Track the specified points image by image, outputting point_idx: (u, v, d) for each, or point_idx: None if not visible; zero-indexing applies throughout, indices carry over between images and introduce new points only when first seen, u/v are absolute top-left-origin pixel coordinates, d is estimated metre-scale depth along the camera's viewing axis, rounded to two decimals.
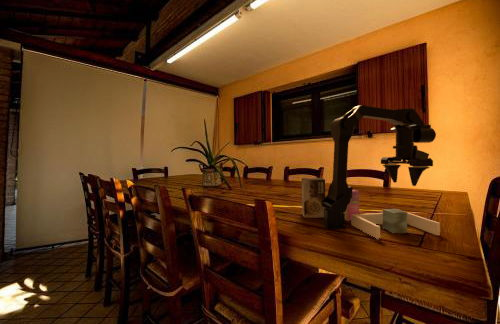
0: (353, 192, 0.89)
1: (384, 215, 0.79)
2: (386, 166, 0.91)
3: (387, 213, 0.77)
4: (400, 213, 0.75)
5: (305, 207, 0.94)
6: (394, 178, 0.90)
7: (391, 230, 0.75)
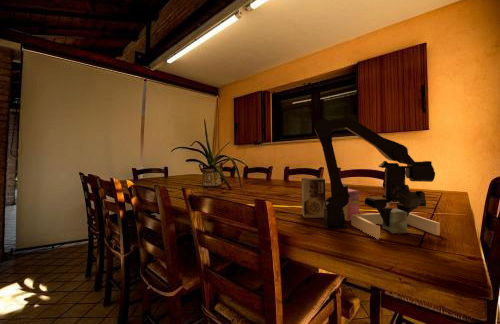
0: (353, 192, 0.89)
1: None
2: None
3: None
4: (400, 213, 0.75)
5: (305, 207, 0.94)
6: None
7: (391, 230, 0.75)
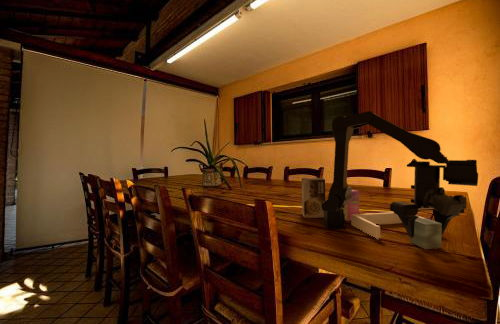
0: (353, 192, 0.89)
1: None
2: None
3: (417, 224, 0.65)
4: (433, 225, 0.63)
5: (305, 207, 0.94)
6: None
7: (422, 245, 0.63)
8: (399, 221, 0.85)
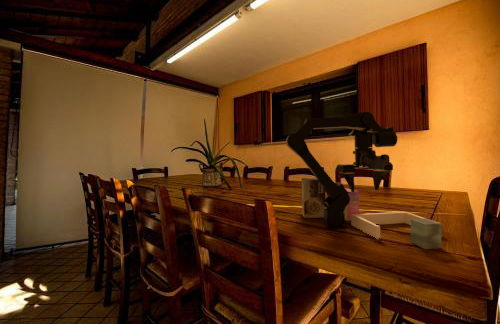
0: (353, 192, 0.89)
1: (412, 226, 0.67)
2: None
3: (417, 224, 0.65)
4: (433, 225, 0.63)
5: (305, 207, 0.94)
6: (375, 185, 0.83)
7: (422, 245, 0.63)
8: (399, 221, 0.85)
